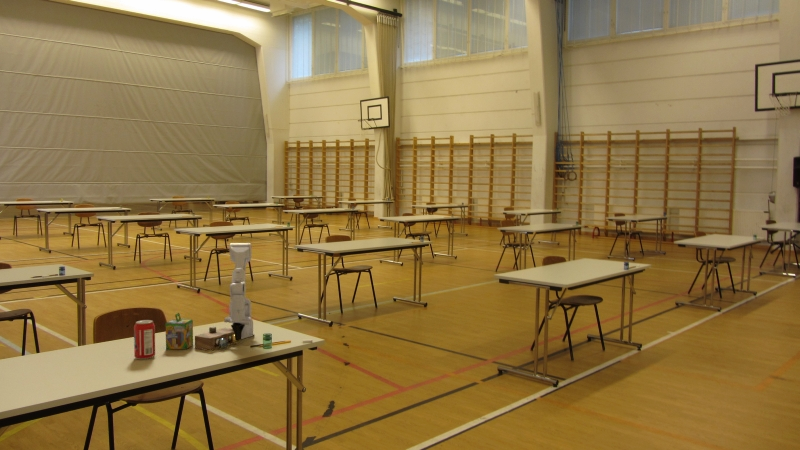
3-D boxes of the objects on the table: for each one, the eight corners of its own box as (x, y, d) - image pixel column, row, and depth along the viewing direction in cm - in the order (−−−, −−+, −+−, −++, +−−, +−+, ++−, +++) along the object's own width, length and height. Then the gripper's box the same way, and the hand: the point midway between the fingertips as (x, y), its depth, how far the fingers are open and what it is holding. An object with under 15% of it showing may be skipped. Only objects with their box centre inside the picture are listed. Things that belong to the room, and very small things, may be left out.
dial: (212, 331, 274) (212, 326, 273) (217, 331, 272) (217, 327, 272) (207, 332, 271) (207, 327, 271) (212, 333, 269) (212, 328, 269)
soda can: (147, 360, 244) (147, 324, 243) (130, 359, 246) (129, 323, 245) (159, 355, 252) (158, 319, 251) (142, 354, 253) (141, 318, 253)
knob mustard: (221, 339, 277) (221, 331, 277) (240, 342, 272) (240, 333, 272) (215, 341, 274) (215, 332, 274) (234, 344, 269) (234, 335, 268)
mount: (224, 339, 280) (224, 327, 280) (239, 341, 276) (239, 330, 276) (194, 348, 265) (194, 335, 264) (210, 350, 260) (210, 338, 260)
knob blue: (209, 343, 270) (209, 334, 270) (227, 346, 265) (227, 337, 265) (202, 345, 267) (202, 336, 266) (221, 348, 261) (221, 339, 261)
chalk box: (186, 350, 261) (185, 315, 261) (165, 349, 262) (164, 315, 261) (194, 344, 271) (193, 311, 270) (173, 344, 271) (173, 311, 270)
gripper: (219, 309, 269) (219, 339, 270) (244, 312, 262) (244, 343, 263) (230, 306, 275) (230, 336, 276) (255, 309, 268) (255, 340, 269)
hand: (238, 339), depth 270 cm, fingers closed, pressing on knob mustard
